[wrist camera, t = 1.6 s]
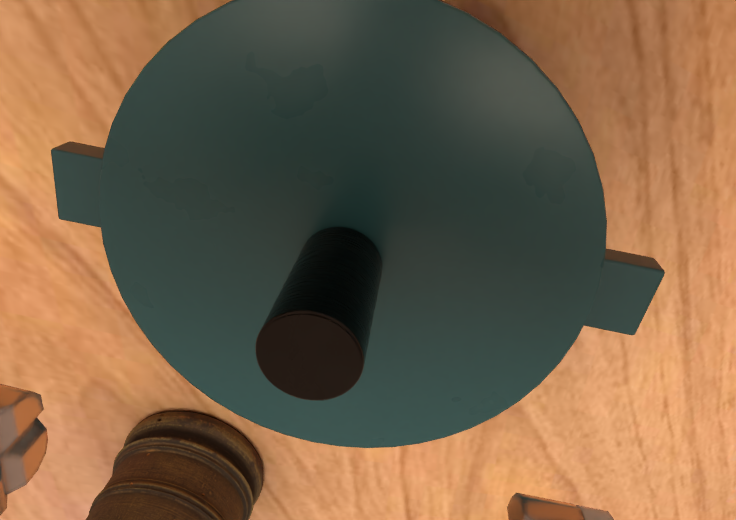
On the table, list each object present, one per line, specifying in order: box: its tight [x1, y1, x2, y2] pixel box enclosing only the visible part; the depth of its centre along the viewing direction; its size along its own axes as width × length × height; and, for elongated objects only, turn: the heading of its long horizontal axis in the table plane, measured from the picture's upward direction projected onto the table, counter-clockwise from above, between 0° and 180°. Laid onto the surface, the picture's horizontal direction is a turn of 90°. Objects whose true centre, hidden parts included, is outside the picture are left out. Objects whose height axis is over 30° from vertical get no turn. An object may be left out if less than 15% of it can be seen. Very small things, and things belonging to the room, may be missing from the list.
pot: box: [51, 142, 665, 335], centre depth 20 cm, size 14×19×10 cm
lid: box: [99, 0, 607, 448], centre depth 14 cm, size 15×15×6 cm
